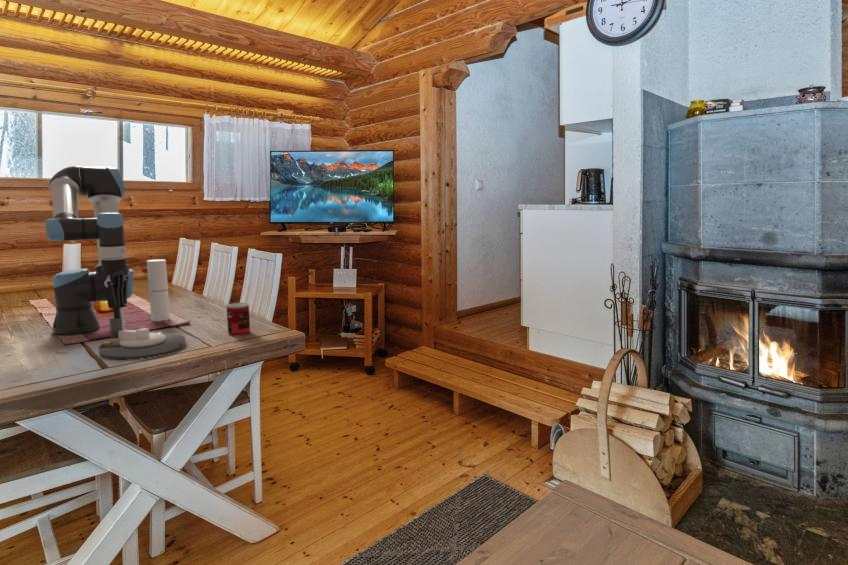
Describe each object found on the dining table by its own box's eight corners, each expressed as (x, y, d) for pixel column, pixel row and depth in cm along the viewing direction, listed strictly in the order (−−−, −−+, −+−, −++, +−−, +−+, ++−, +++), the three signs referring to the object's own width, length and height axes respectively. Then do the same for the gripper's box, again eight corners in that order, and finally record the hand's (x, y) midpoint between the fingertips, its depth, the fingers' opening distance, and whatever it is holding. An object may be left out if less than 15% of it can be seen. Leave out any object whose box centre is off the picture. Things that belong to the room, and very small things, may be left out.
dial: (174, 337, 186) (173, 316, 185) (147, 348, 173) (145, 325, 171) (127, 335, 190) (125, 313, 188) (97, 345, 176) (94, 323, 175)
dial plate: (82, 360, 168) (81, 353, 167) (125, 338, 193) (124, 332, 193) (165, 359, 169) (165, 352, 168) (197, 338, 194) (196, 331, 194)
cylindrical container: (162, 321, 220) (158, 261, 216) (147, 320, 221) (142, 261, 217) (174, 317, 227) (169, 259, 223) (159, 317, 228) (154, 259, 224)
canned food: (231, 330, 205) (229, 302, 203) (252, 330, 206) (250, 302, 204) (225, 335, 198) (223, 306, 196) (247, 335, 198) (246, 306, 197)
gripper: (114, 260, 174) (121, 330, 178) (134, 256, 187) (140, 321, 191) (91, 261, 174) (98, 331, 178) (112, 256, 187) (118, 321, 191)
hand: (119, 326), depth 184 cm, fingers closed
